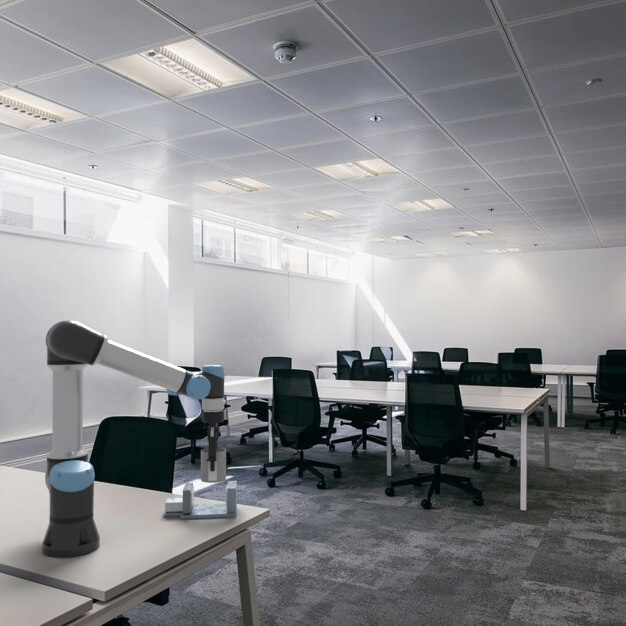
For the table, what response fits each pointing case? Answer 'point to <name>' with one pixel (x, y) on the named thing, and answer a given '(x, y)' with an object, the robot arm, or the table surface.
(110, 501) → the table surface
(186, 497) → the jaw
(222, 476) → the cup
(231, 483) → the vise base
